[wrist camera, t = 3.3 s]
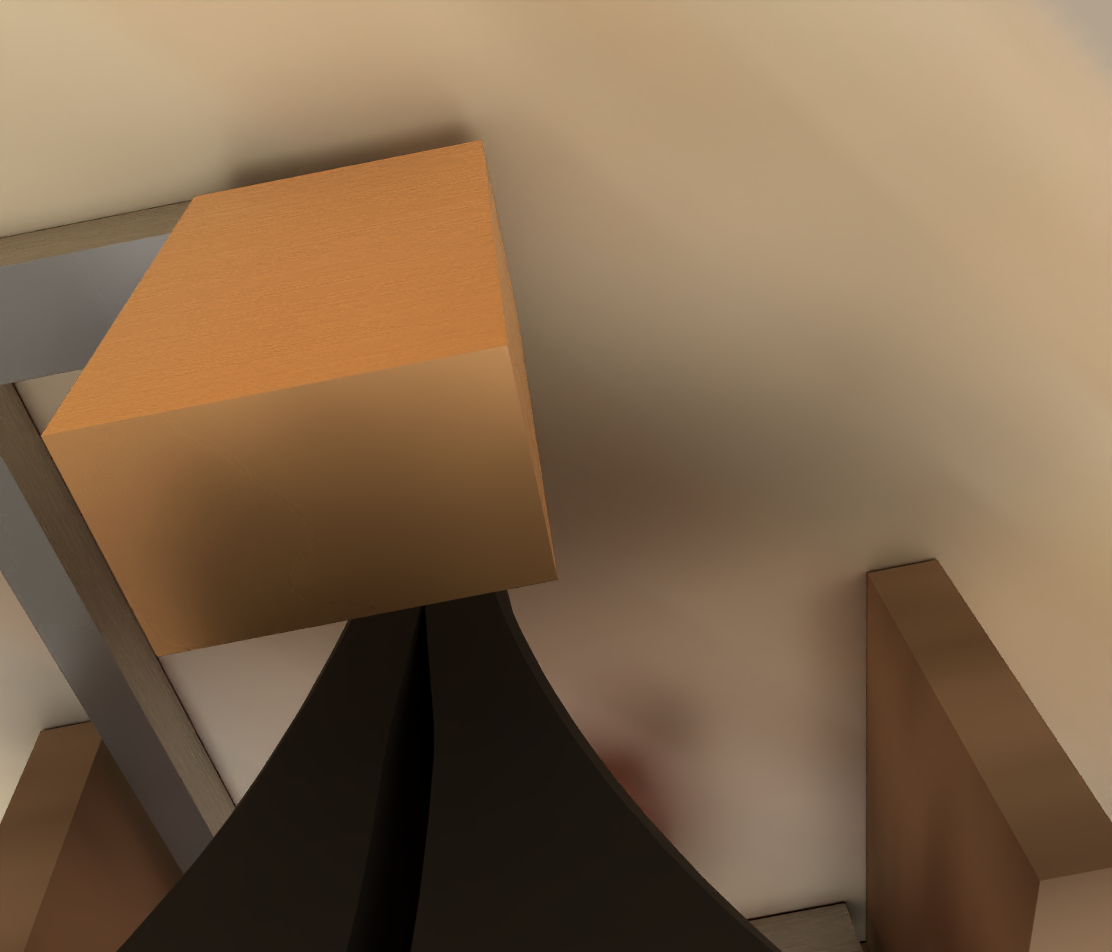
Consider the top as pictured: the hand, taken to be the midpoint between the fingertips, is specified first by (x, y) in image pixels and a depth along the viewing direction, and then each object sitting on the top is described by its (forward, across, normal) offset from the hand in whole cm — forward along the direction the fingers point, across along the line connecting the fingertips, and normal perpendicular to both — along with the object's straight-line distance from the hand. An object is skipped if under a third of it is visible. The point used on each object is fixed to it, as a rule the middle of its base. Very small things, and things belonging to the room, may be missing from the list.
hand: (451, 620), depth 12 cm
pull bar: (+2, 0, +3) cm, 4 cm away
